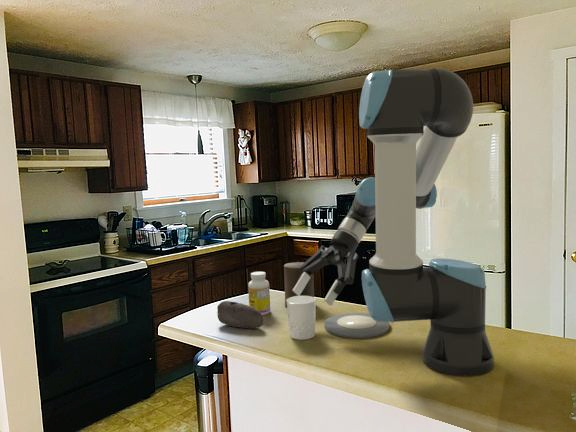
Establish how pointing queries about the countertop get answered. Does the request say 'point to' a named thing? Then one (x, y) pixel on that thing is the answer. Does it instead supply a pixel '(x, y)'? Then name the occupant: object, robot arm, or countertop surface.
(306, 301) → the white cup
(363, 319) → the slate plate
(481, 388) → the countertop surface
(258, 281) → the supplement bottle
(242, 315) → the perforated stone tool
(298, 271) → the pillar candle
